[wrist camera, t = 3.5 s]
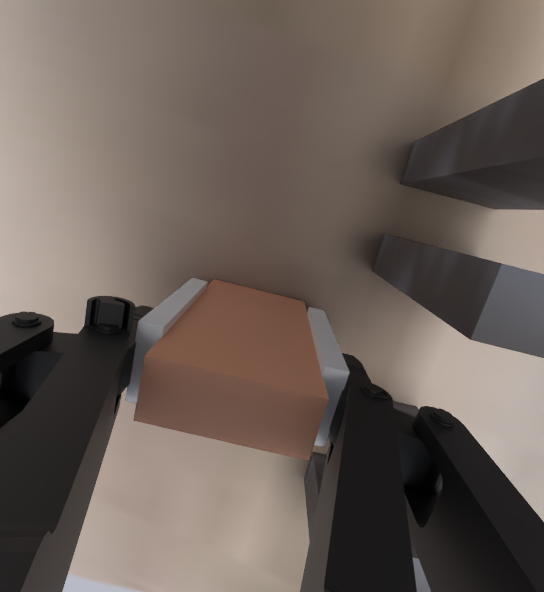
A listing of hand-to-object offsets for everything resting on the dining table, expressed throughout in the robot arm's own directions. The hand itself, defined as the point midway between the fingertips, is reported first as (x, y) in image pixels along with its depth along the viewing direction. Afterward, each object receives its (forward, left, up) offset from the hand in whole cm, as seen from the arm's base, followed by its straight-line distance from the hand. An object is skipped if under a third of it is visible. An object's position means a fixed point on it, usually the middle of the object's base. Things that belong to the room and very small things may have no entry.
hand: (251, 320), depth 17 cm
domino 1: (0, 0, -2) cm, 2 cm away
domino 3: (-5, +8, -2) cm, 9 cm away
